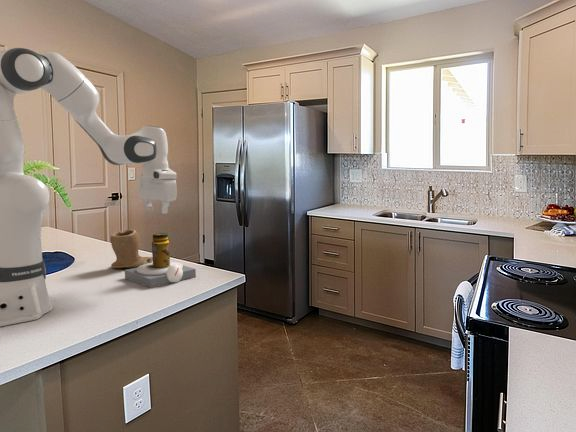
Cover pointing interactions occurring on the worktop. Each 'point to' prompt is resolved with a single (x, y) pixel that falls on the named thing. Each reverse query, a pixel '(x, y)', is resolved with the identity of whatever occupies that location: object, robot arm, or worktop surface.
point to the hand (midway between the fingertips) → (157, 212)
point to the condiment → (160, 252)
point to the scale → (160, 274)
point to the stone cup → (127, 250)
